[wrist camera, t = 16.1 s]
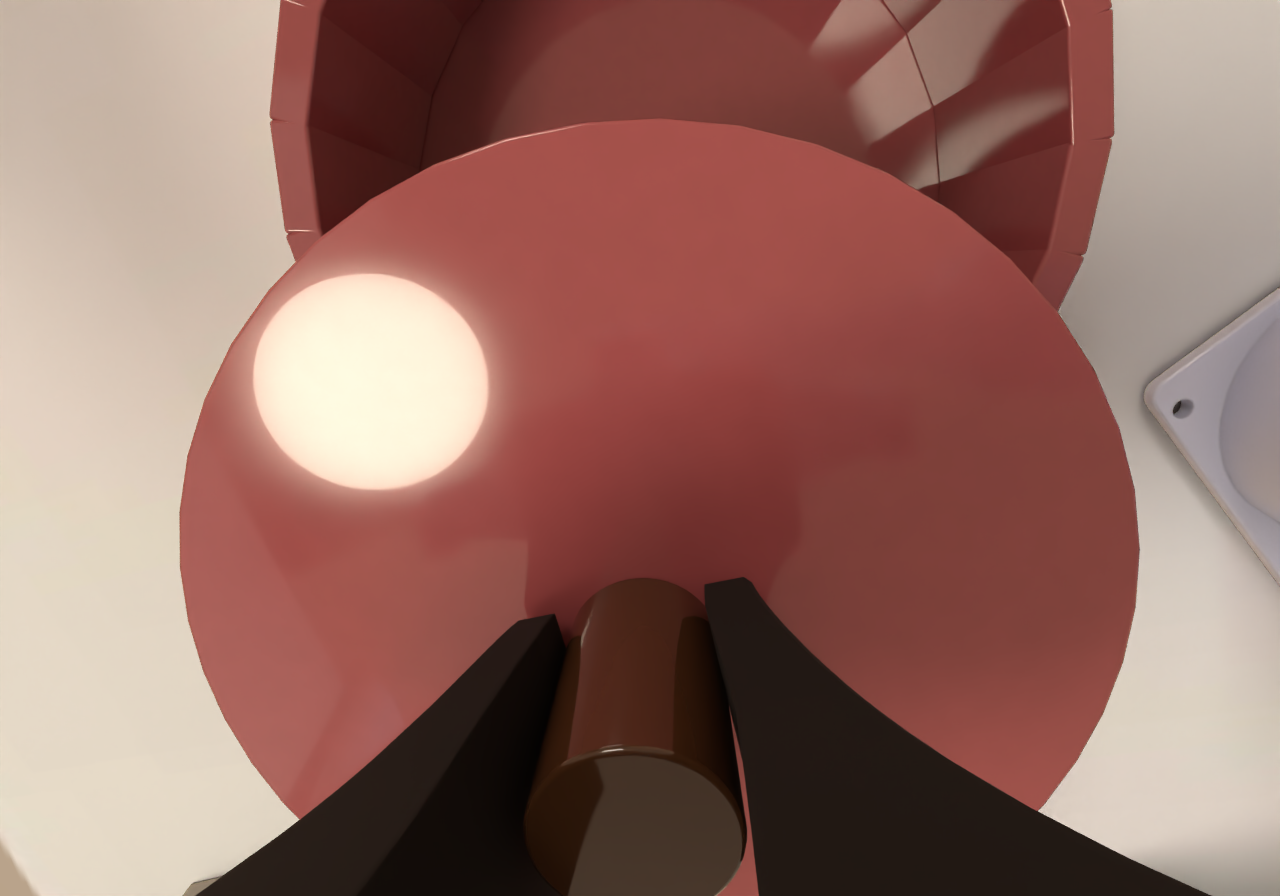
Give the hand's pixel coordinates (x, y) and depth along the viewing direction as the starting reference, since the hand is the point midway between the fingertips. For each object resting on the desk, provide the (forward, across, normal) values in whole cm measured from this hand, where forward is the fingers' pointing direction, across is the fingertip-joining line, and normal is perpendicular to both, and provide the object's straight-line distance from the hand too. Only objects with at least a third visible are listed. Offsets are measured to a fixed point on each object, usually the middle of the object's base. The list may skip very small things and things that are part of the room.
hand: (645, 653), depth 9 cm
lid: (+1, 0, 0) cm, 1 cm away
